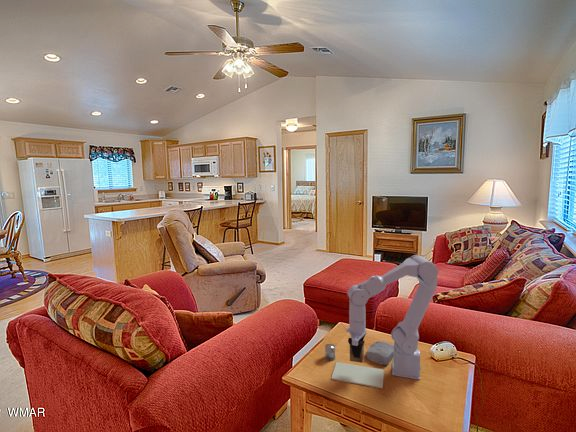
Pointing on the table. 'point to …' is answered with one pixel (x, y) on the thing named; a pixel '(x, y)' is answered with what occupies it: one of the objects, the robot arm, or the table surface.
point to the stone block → (380, 352)
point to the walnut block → (357, 358)
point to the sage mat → (358, 375)
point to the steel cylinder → (330, 352)
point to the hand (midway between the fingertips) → (357, 353)
